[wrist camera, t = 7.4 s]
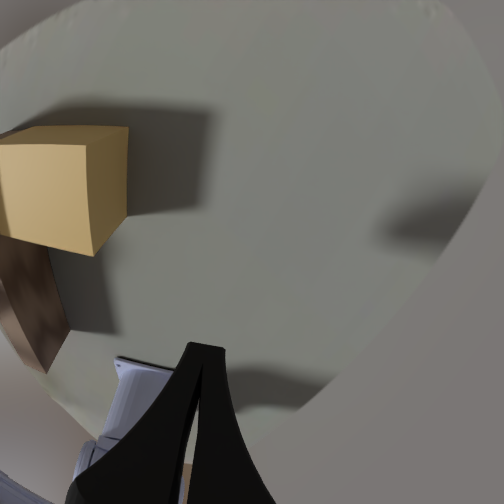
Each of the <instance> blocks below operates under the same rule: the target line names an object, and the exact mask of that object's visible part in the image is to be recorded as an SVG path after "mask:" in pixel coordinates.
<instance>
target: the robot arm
mask: <svg viewBox="0 0 504 504" xmlns="http://www.w3.org/2000/svg"><path fill="white" fill-rule="evenodd" d="M225 351H226V350H225V349H224V348H223V347H217V346H212V345H206V344H201V343H195V342H189V343H187V346H186V348H185V351H184V353H183V355H182V357H181V359H180V361H179V363H178V365H177V366H176V368H175V370H174V371H170V370H165V369H161V368H157V367H152V366H148V365H144V364H140V363H136V362H133V361H129V360H125V359H121V358H118V357H116V358H115V359H114V364H115V367H116V371H117V374H118V377H119V380H120V382H119V385H118V388H117V390H116V393H115V396H114V399H113V402H112V405H111V407H110V410H109V413H108V416H107V419H106V422H105V426H104V429H103V432H102V435H99V438H98V442H97V445H96V441H94V440H90V441H87V442H85V443H84V444H83V447H82V449H81V451H80V454H79V457H78V460H77V464H76V467H75V472H74V476H73V482H72V484H71V485H70V487H69V490H68V492H67V496H66V501H65V504H182V502H183V496H184V479H183V476H182V472H183V465H184V458H185V452H186V447H187V442H188V439H189V435H190V431H191V427H192V424H193V420H194V416H195V412H196V409H197V405H198V401H199V415H198V433H197V440H196V446H195V452H194V459H193V465H192V472H191V479H190V485H189V492H188V499H187V504H276V503H275V501H274V499H273V498H272V496H271V495H270V493H269V491H268V490H267V488H266V487H265V485H264V483H263V481H262V479H261V477H260V475H259V473H258V471H257V470H256V467H255V465H254V464H253V461H252V460H251V457H250V455H249V452H248V450H247V448H246V445H245V443H244V440H243V438H242V435H241V432H240V429H239V426H238V423H237V420H236V416H235V413H234V409H233V405H232V401H231V397H230V392H229V387H228V381H227V374H226V364H225ZM199 397H200V399H199ZM0 504H54V503H52V502H50V501H48V500H46V499H44V498H42V497H40V496H38V495H37V494H35V493H33V492H31V491H30V490H28V489H26V488H25V487H23V486H21V485H19V484H18V483H16V482H15V481H13V480H12V479H10V478H9V477H8V475H6V474H5V473H4V472H2V471H1V470H0Z"/></svg>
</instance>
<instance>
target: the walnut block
mask: <svg viewBox="0 0 504 504" xmlns="http://www.w3.org/2000/svg"><path fill="white" fill-rule="evenodd" d="M20 131H22V130H16V131H8V132H5V133H3V134H0V139H3V138H5V137H7V136H10V135H12V134H15V133H17V132H20ZM0 322H1V324H2V326H3V327H4V329H5V331H6V333H7V335H8V337H9V339H10V341H11V342H12V344H13V346H14V348H15V349H16V351H17V353H18V355H19V356H20V358H21V360H22V361H23V363H24V364H25V365H27V366H29V367H32V368H34V369H36V370H38V371H40V372H42V373H45V374H47V372H48V370H49V368H50V367H51V365H52V363H53V361H54V359H55V357H56V355H57V353H58V351H59V350H60V348H61V346H62V344H63V342H64V341H65V339H66V337H67V335H68V334H69V332H70V328H69V325H68V322H67V319H66V316H65V313H64V310H63V307H62V304H61V300H60V297H59V294H58V290H57V287H56V283H55V280H54V276H53V272H52V268H51V264H50V260H49V255H48V251H47V246H45V245H40V244H36V243H32V242H28V241H24V240H20V239H16V238H12V237H8V236H4V235H1V234H0Z"/></svg>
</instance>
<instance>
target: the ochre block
mask: <svg viewBox="0 0 504 504" xmlns="http://www.w3.org/2000/svg"><path fill="white" fill-rule="evenodd" d="M128 135H129V127H122V126H97V125H53V126H33V127H31V128H28V129H25V130H22V131H20V132H17V133H15V134H12V135H10V136H7V137H5V138H3V139H0V234H1V235H4V236H8V237H12V238H16V239H20V240H24V241H28V242H32V243H36V244H40V245H45V246H49V247H53V248H57V249H62V250H66V251H70V252H75V253H79V254H84V255H88V256H93V257H94V256H95V254H96V253H97V252H98V250H99V249H100V248H101V247H102V246H103V244H104V243H105V242H106V241H107V239H108V238H109V237H110V236H111V235H112V233H113V232H114V231H115V230H116V229H117V228H118V226H119V225H120V224H121V223H122V222H123V221H124V219H125V218H126V217H127V154H128Z"/></svg>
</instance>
